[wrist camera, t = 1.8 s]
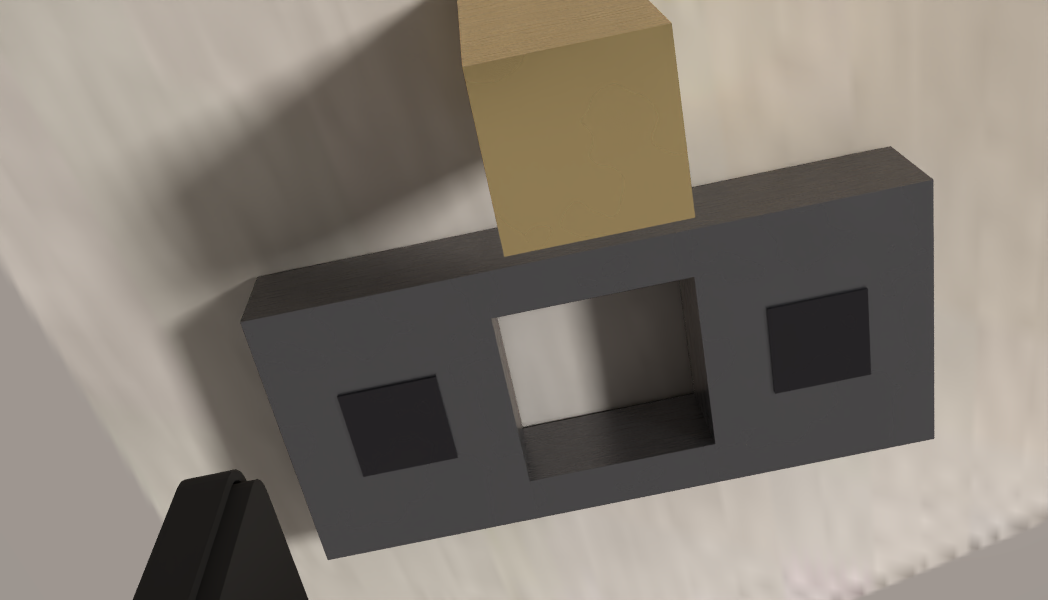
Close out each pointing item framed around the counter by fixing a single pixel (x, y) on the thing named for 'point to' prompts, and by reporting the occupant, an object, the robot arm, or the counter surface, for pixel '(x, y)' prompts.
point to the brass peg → (575, 117)
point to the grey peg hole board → (623, 434)
